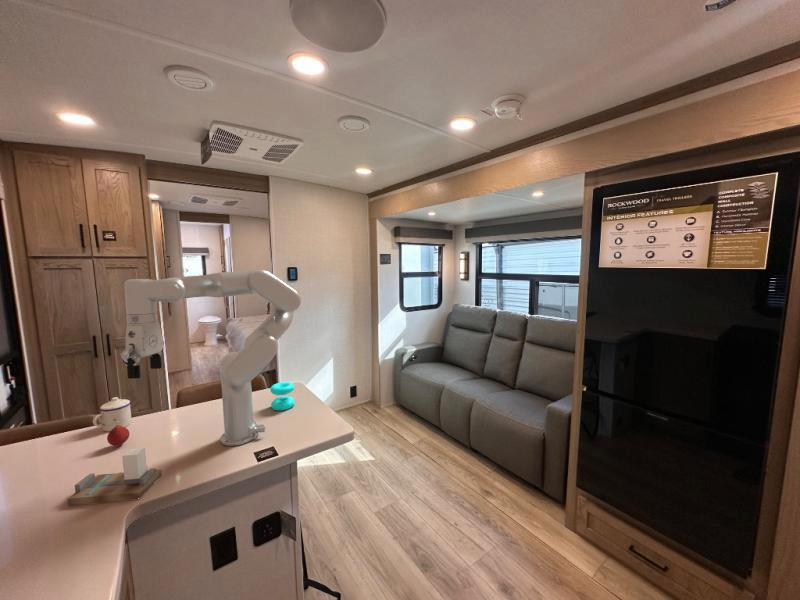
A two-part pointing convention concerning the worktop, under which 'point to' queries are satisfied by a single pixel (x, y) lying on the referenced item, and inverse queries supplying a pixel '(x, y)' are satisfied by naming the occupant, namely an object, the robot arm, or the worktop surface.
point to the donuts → (285, 401)
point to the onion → (118, 435)
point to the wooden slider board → (111, 488)
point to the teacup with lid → (114, 414)
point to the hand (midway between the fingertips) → (145, 373)
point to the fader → (134, 465)
